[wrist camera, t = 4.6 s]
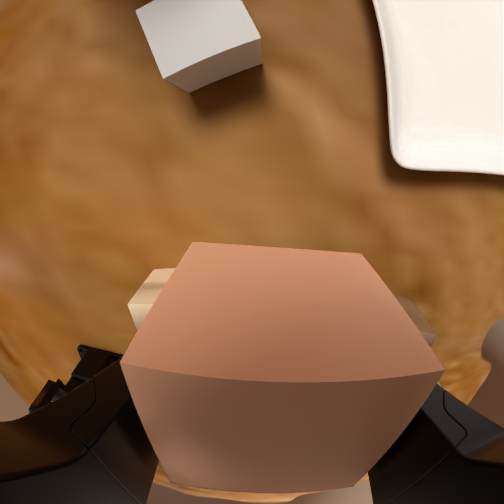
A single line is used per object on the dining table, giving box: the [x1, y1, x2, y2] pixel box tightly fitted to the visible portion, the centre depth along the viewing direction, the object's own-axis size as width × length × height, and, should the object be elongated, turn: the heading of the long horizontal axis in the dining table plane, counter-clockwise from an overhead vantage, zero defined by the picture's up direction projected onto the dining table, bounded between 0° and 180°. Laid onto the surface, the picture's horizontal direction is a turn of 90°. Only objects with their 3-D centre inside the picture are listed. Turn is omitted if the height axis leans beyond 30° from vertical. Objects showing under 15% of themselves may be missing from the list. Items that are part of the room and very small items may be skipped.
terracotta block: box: [120, 242, 445, 493], centre depth 7 cm, size 5×5×5 cm
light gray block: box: [136, 0, 262, 93], centre depth 12 cm, size 5×5×5 cm
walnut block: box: [392, 293, 438, 346], centre depth 19 cm, size 5×5×5 cm
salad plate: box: [372, 0, 504, 175], centre depth 11 cm, size 21×21×3 cm
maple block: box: [128, 268, 176, 331], centre depth 19 cm, size 5×5×5 cm
